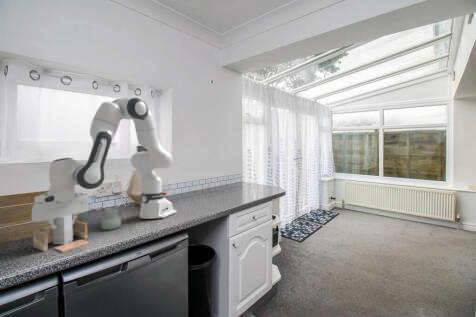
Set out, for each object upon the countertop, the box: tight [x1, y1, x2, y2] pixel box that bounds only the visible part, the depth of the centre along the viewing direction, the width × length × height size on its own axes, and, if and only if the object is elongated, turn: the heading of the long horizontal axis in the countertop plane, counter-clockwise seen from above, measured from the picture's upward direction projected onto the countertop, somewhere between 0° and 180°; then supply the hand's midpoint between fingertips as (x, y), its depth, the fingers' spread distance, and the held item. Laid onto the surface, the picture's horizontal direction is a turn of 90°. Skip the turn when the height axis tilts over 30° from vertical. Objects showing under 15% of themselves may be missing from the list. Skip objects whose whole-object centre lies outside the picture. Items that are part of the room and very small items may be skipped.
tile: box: [53, 239, 91, 253], centre depth 94 cm, size 10×7×1 cm
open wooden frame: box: [32, 219, 88, 252], centre depth 99 cm, size 16×10×7 cm, turn 152°
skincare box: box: [52, 215, 74, 245], centre depth 98 cm, size 6×4×12 cm
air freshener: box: [101, 207, 122, 231], centre depth 117 cm, size 11×8×10 cm
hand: (62, 226), depth 98 cm, fingers closed on skincare box, 5 cm apart
